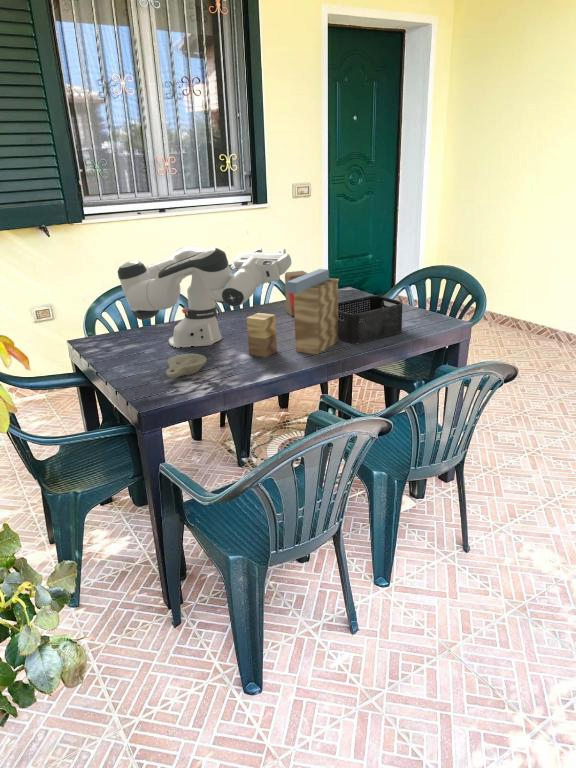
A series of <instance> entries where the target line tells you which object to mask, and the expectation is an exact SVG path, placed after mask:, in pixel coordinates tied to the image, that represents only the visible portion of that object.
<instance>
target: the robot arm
mask: <svg viewBox="0 0 576 768" xmlns="http://www.w3.org/2000/svg"><path fill="white" fill-rule="evenodd" d="M278 252H279V253H271V252H269V253H268V252H267V253H266V252H263V249H262V248H260V247H257V248H256V249H255V250H253V251H251V252H247V251H246V252H245V251H243V252H240V253H238V254H237V255H236V257H235V259H233V263H232V264H231V265H229V260H228V257H227V254H226V252H225V251H224V250H222V249H220V248H218V247H214V246H213V247H209V248H203V247H196V246H190V245H189V246H184V247H183V246H182V247H180V248H178V250H177V249H176V252H174V253H173V254H172V255H170V256H169V257H167V258H164V259H162V260H160V261H157V262H155V263H152V264H149V265H147V266H145V264H144V263H143V262H141V261H139V260H130V261H126V262H124V263H123V264H122V265H120V266H119V267H118V269H117V276H118V279H119V282H120V284H121V285H120V286H121V289H122V292H123V295H124V297H125V299H126V301H127V303H128V305H129V308H130V309H131V312H132V313H131V314H133V316H134V317H135V318H136V319H138V320H150V319H152V318H154V317H156V316H157V315H158V314H159V312H160V311H162V310H167V309H171V308H172V307H174V306H175V305H176V304H177V302H178V301H179V298H180V296H181V283H182V281H184V279H185V278H186V277H189V276H191V281H190V285H189V287H188V288H187V291H186V293H187V294H186V295H187V303H188V308H186V307H183V308H182V309H181V311H182V313H183V314H184V318H183V319H182V320H180V321H179V322H178V323H177V324H176V325H175V326H174V328H173V336H171V337H170V338H169V339H168V344H169V346H170V347H172V346H173V348H175V347H176V348H175V349H179V348H180V347H182V348H192V347H191V346H194V347H202V346H203V347H206V346H212V345H213V344H214V343H216V342H219V341H221V340H222V338H223V337H222V335H221V332H220V329H219V324H218V309H217V306H216V303H219V304H225V305H228V306H230V307H233V308H234V307H240V306H241V305H243V304H245V303H246V302H247V301H248V300H249V299H250V298H251V297H252V296H253V295H254V294H255V292H256V290H257V288H258V287H260V286H261V285H265V284H267V283H273V282H278V281H279V280H280V278H281V277H280V276H282V275H283V274H284V275H285V273H286V272H288V271H287V270H289V268H290V267H291V266H292V258H291V256H290V254H289V253H287V252H286V249H285V248H280V249H279V251H278ZM233 272H234V273H233ZM180 349H181V348H180Z"/></svg>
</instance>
